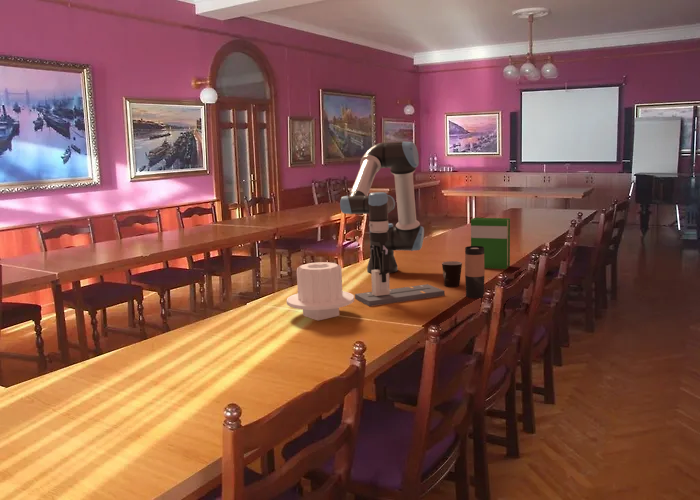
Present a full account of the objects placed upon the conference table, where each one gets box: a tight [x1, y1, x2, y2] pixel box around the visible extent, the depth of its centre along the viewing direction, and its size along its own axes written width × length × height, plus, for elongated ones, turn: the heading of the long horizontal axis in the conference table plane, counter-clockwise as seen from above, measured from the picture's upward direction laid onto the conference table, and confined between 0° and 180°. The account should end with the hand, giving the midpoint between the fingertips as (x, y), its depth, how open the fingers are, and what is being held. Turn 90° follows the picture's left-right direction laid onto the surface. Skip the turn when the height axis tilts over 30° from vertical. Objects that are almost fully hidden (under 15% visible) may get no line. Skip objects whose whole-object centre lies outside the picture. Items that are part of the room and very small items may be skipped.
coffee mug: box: [441, 260, 463, 288], centre depth 272 cm, size 12×9×10 cm
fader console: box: [354, 283, 445, 307], centre depth 254 cm, size 14×34×2 cm, turn 113°
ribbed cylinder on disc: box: [286, 261, 355, 321], centre depth 230 cm, size 25×25×19 cm
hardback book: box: [470, 217, 511, 270], centre depth 307 cm, size 18×7×24 cm, turn 65°
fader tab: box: [370, 269, 391, 296], centre depth 250 cm, size 4×6×10 cm
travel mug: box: [464, 245, 485, 299], centre depth 250 cm, size 8×8×20 cm
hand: (380, 288), depth 251 cm, fingers closed on fader tab, 4 cm apart
